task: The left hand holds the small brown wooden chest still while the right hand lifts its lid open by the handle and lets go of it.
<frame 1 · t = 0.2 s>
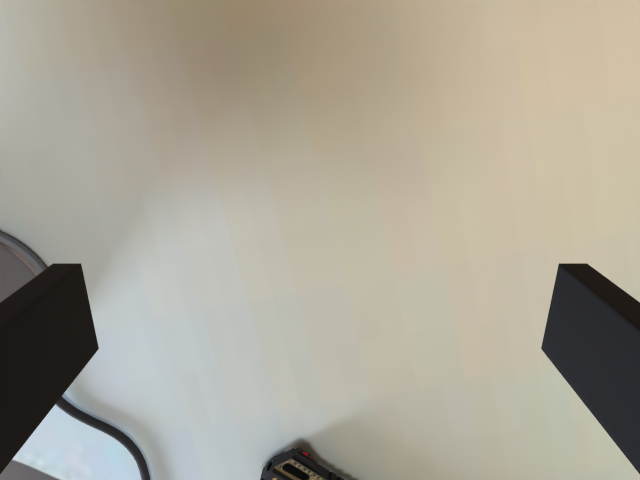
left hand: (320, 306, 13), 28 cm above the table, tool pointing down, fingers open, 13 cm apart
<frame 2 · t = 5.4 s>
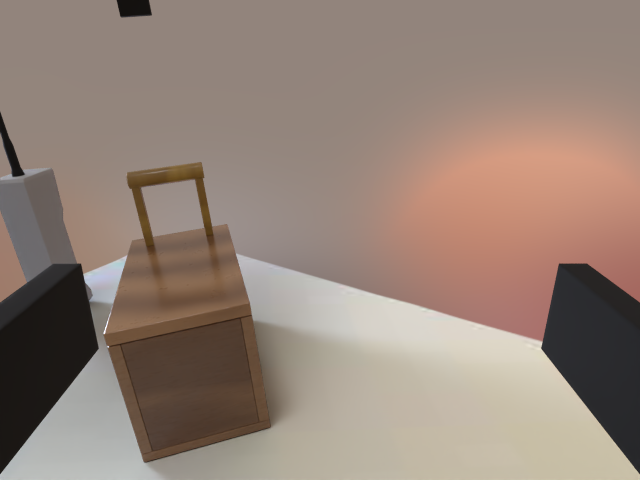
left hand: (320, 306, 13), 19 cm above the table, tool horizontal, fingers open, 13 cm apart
lid: (172, 231, 36), point 14 cm above the table, hinge at 0.0°
chest: (204, 375, 41), on the table
vintage mobile phone: (68, 309, 55), on the table
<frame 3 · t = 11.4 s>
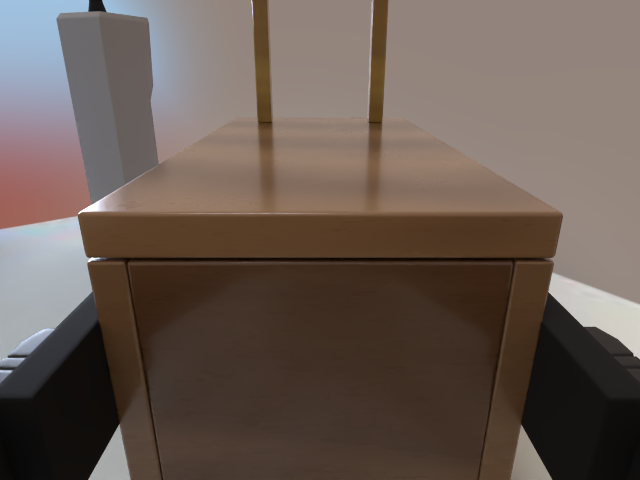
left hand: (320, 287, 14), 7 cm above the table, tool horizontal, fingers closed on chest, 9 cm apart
lid: (320, 53, 16), point 14 cm above the table, hinge at 0.0°
chest: (320, 386, 20), on the table, touching left hand
vintage mobile phone: (138, 235, 38), on the table
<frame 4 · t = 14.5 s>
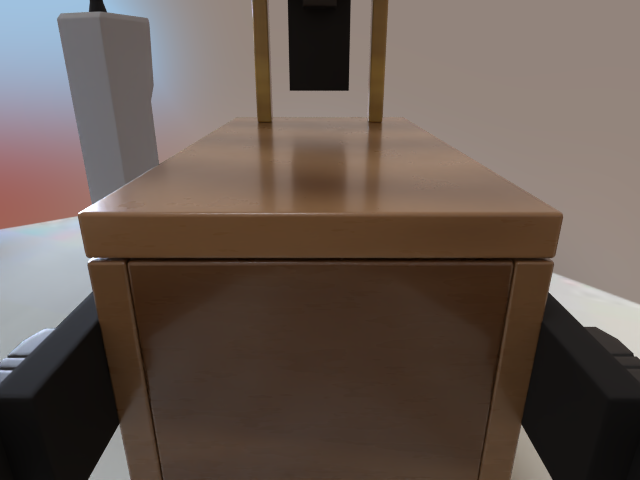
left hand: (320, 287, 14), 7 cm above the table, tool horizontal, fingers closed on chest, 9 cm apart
lid: (320, 53, 16), point 14 cm above the table, hinge at 0.1°, touching right hand
chest: (319, 387, 20), on the table, touching left hand
vintage mobile phone: (138, 235, 38), on the table
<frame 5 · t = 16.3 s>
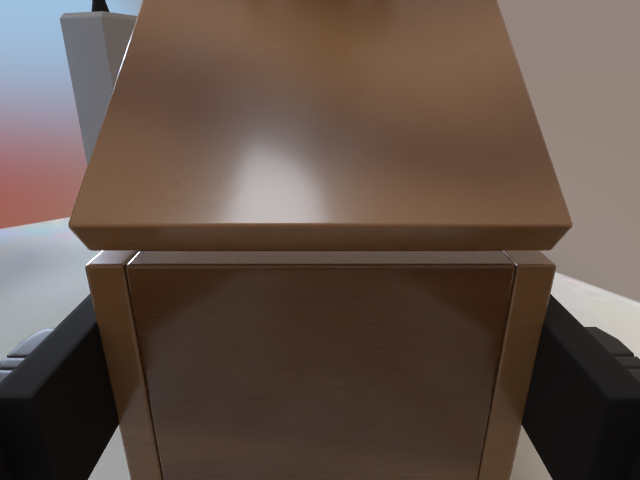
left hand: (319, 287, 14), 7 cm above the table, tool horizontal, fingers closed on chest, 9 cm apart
chest: (319, 383, 20), on the table, touching left hand
vintage mobile phone: (140, 234, 39), on the table
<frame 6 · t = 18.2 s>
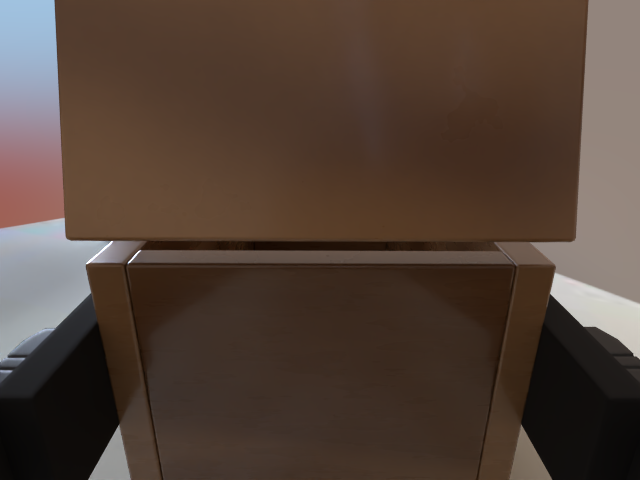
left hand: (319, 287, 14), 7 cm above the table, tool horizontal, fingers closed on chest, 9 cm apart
chest: (319, 383, 20), on the table, touching left hand
when the left hand's fingers open (7 cm above the table, at t = 22.1 s): chest stays where it is, on the table.
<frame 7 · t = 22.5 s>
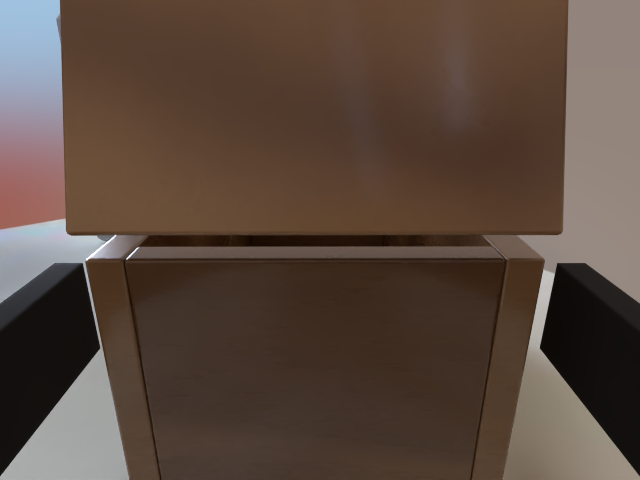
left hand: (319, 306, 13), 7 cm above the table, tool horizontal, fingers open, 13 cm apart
chest: (317, 385, 20), on the table
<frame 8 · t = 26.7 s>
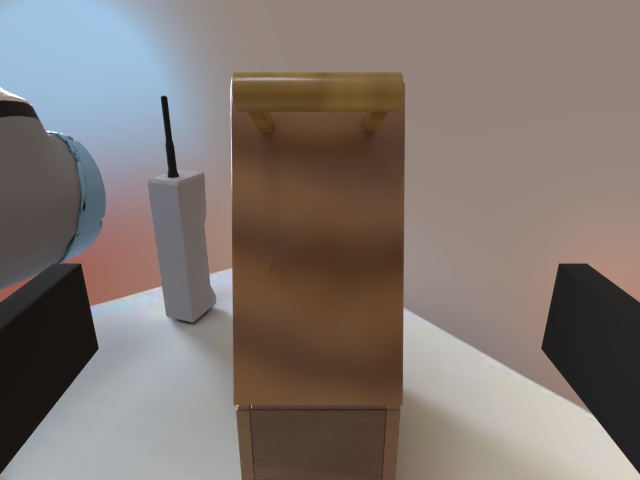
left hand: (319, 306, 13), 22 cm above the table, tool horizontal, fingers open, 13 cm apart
lid: (317, 250, 21), point 20 cm above the table, hinge at 71.7°
chest: (318, 432, 37), on the table
vintage mobile phone: (192, 312, 55), on the table
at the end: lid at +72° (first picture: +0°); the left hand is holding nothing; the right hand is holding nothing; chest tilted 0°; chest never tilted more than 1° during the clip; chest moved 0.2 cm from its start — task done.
